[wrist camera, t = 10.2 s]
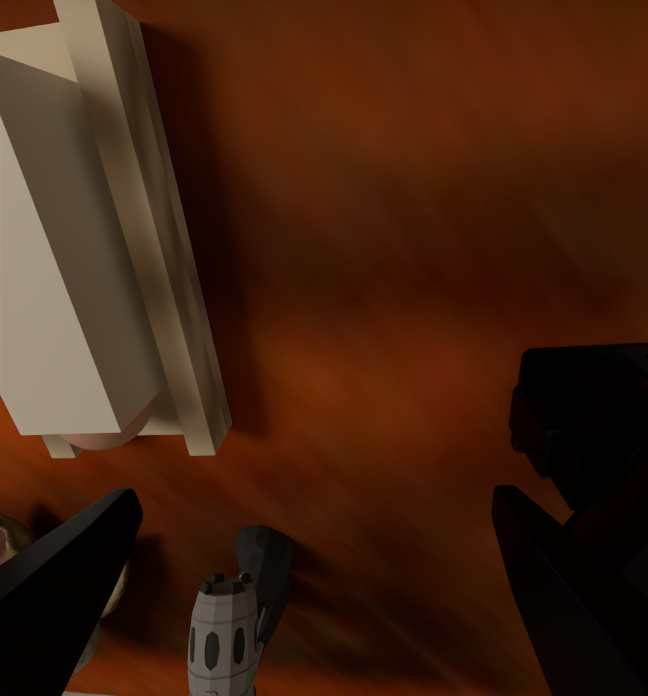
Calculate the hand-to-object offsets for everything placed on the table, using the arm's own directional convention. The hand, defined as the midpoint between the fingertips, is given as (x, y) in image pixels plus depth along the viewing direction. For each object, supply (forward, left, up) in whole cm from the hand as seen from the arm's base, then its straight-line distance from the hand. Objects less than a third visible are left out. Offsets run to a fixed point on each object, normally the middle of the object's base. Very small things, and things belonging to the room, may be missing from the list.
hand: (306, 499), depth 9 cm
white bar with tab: (+12, -5, -11) cm, 17 cm away
